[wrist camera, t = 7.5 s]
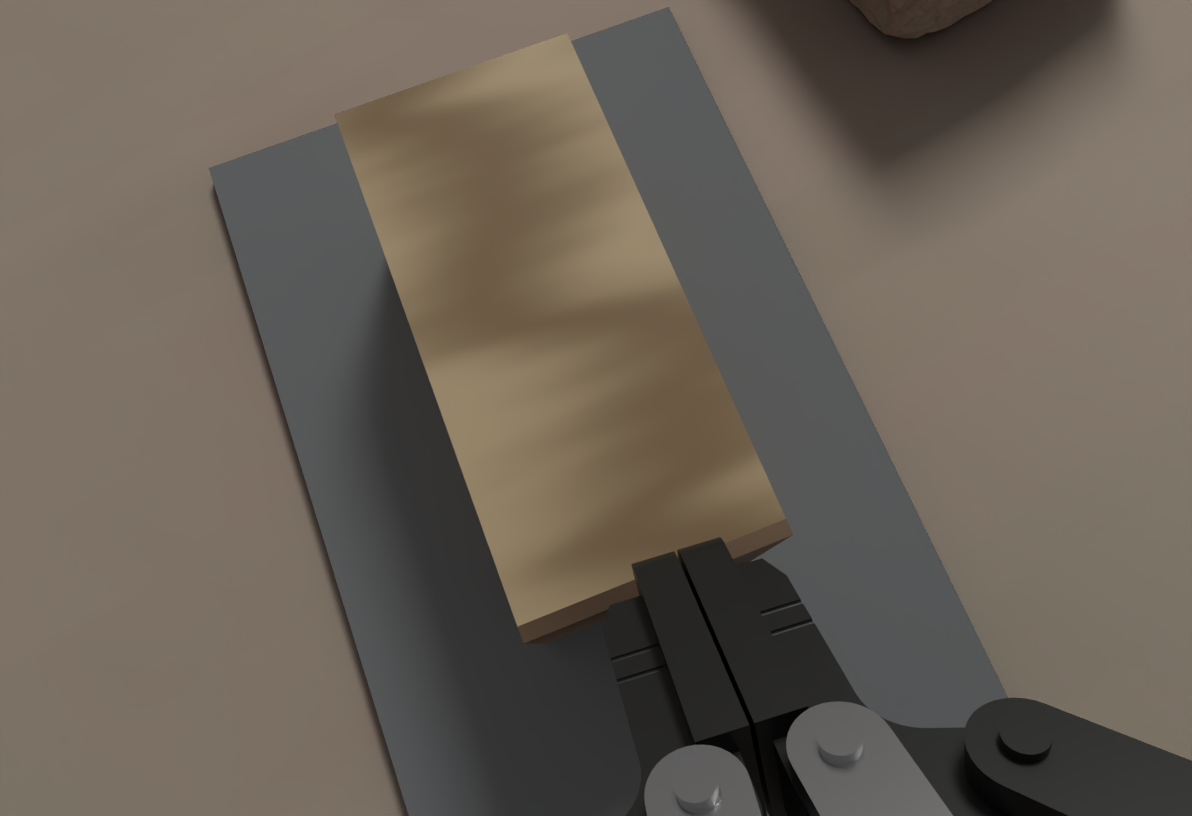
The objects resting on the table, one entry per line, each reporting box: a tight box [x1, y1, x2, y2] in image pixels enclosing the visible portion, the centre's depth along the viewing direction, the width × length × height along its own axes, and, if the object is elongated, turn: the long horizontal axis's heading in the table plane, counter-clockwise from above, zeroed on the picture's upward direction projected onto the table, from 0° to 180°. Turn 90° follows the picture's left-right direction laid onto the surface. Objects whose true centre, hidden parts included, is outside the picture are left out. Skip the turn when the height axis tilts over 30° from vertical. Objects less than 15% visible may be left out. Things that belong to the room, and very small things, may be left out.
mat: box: [209, 7, 1008, 816], centre depth 21 cm, size 13×22×1 cm, turn 21°
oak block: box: [334, 33, 793, 644], centre depth 19 cm, size 5×5×11 cm
